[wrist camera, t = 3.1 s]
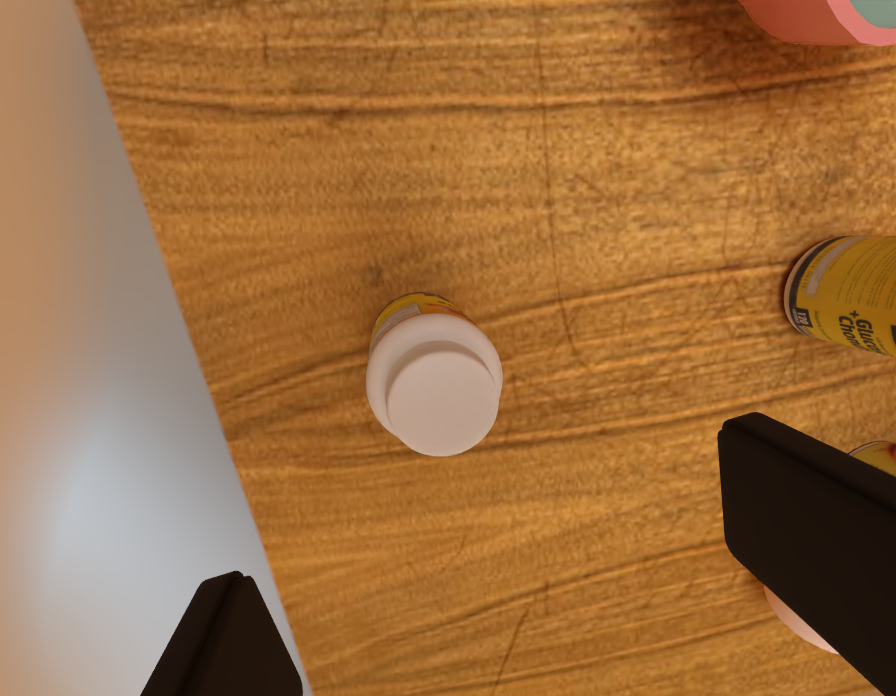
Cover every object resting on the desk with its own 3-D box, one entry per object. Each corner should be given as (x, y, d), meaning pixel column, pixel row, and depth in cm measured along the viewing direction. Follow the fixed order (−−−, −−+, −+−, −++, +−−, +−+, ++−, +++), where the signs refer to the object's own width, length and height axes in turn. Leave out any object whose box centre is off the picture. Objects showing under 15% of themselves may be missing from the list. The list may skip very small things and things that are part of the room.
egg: (786, 532, 33) (883, 605, 26) (809, 568, 34) (907, 645, 28) (735, 570, 33) (820, 652, 27) (760, 605, 34) (846, 689, 28)
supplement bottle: (484, 350, 25) (548, 425, 15) (405, 400, 25) (420, 506, 16) (435, 270, 24) (472, 296, 14) (350, 323, 24) (328, 387, 14)
